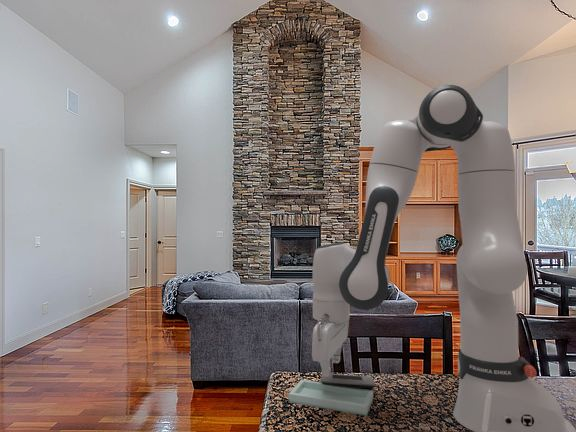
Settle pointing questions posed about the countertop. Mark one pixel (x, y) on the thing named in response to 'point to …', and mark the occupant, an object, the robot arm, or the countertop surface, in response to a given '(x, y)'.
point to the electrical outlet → (348, 381)
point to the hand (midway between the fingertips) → (331, 368)
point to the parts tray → (332, 397)
